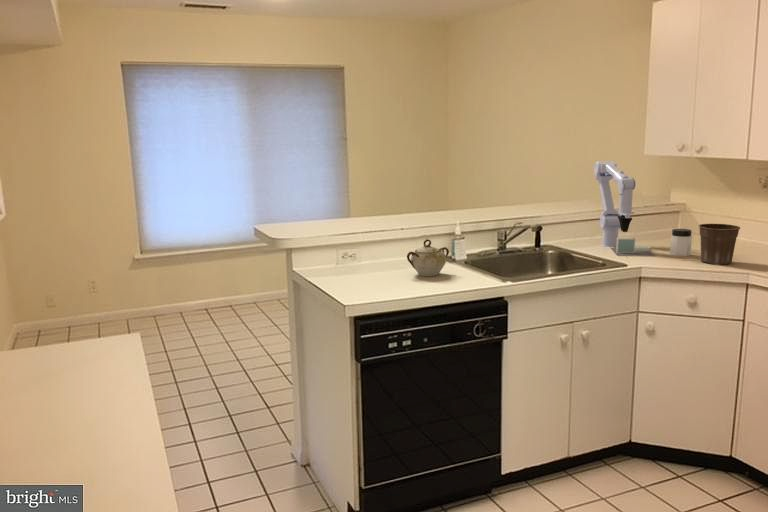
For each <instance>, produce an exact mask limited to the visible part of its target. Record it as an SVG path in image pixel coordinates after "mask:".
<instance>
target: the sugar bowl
mask: <svg viewBox="0 0 768 512" xmlns="http://www.w3.org/2000/svg"><path fill="white" fill-rule="evenodd" d="M427 242H428V244H426V243H427ZM431 245H432V241H431V240H430V239H429V238H426V239H425V240H424V241H423V246H422V247H420V248H418V249H415V250H414V251H409V252H408V253H407V255H406V260H407V261H408V263H409V264H410V265H411V266H412V268H413V269H414V270H415V271H416V272H417V274H418V275H419V276H421V277H436V276H439V274H440V273H441V271H442V269H443V268H444V267H445V265H446V263H447V258H448V257H449V254H450V251H449V248H447V247H446V246H444V247H443V246H442V247H440V248H437V247H434V246H431ZM445 251H446V254H445Z"/></svg>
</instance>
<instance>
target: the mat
mask: <svg viewBox="0 0 768 512" xmlns="http://www.w3.org/2000/svg"><path fill="white" fill-rule="evenodd" d="M610 249H611V251H613V253H614V254H615V255H616V256H617V257H644V258H645V257H646V258H647V257H651V258H653V257H655V258H657V256H656V254H654V253H653V252H651V250H650V251H635V253H617V252H616V249H617V247H610Z"/></svg>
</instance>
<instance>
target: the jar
mask: <svg viewBox="0 0 768 512" xmlns="http://www.w3.org/2000/svg"><path fill="white" fill-rule="evenodd" d="M692 239H693V236H692V229H688V228H673V229H672V231H671V235H670V244H669V245H670V247H669V255H672V256H677V257H680V256H681V257H687V256H691V255H692V254H691V253H692V244H693V243H692V242H693V240H692Z"/></svg>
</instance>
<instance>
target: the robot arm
mask: <svg viewBox="0 0 768 512" xmlns="http://www.w3.org/2000/svg"><path fill="white" fill-rule="evenodd" d="M593 173H594V178H595V180H597V182H598V186H599V191H600V192H599V193H600V197H601V202H602V207H603V211H602V212H601V213H600V215H599V226H600V227H601V229H602V232H603V233H602V243H603V244H601V243H600V245H601V246H602V247H604V248H617V238H619V230H620V231H621V232H623V233H628V232H629V228H630V224H631V222H632V220H633V218H632V217H631V215H634V214H635V212H634V211H633V191H634V190H635V187H636V179H635V178H634V177H629V176H628V175H627V174H625V172H624V170H619V169H618V167H617V163H616V161H614V160H612V161H596V162H595V163H594V166H593ZM612 179H613V181H614V183H616V184H617V189H618V194H619V201H618V204H619V205H618V210H617V209H615V206H614V200H613V196H612V191H611V185H610V181H611V180H612Z"/></svg>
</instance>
